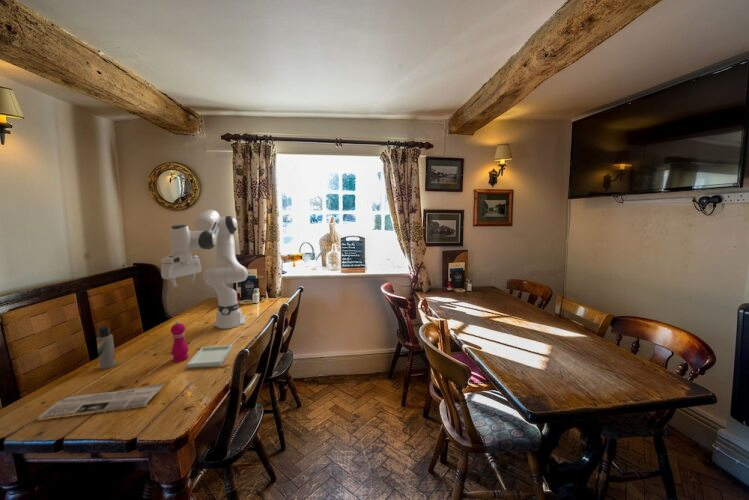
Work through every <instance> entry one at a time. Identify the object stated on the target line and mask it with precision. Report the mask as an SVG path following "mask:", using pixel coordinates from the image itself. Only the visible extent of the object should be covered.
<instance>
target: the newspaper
mask: <svg viewBox="0 0 749 500" xmlns="http://www.w3.org/2000/svg"><path fill="white" fill-rule="evenodd" d="M163 386H164V382H163V383H156V384H151V385H146V386H140V387H134V388H129V389H128V388H127V389H124V390H117V391H116V390H115V391H107V392H98V393H97V392H96V393H89V394H88V393H87V394H77V395H68V397H66V398H63V399H61V400H57V401H56V403H54V404H53V405H51V406H50V407H48V408H47V409H46V410H45V411H44V412H42V414H40V415H39V416H38V417H37V419H38V418H48V417H57V416H64V415H73V414H82V413H91V412H102V411H112V412H115V411H114V410H119V411H124V409H127V410H133V409H132V408H134V409H141V408H140V407H142V408H147V407H148V404H149V402H150V401H151V400H152V398H153V397H154V396H155V395H156V394H158V393H160V390H161V389H162V387H163Z"/></svg>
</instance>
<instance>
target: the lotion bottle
mask: <svg viewBox="0 0 749 500" xmlns="http://www.w3.org/2000/svg"><path fill="white" fill-rule="evenodd" d="M97 331H98V332H97V333H98V336H97V337H96V346H97V354H98V362H99V367H100V370H107V369H111V368H114V367H115V366H116V364H117V361H116V359H117V358H116V352H115V343H114V335H113V334H111V333H110V332H111V331H110V326H109V325H102V326H99V327H98V328H97Z"/></svg>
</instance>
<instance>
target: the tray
mask: <svg viewBox="0 0 749 500" xmlns="http://www.w3.org/2000/svg"><path fill="white" fill-rule="evenodd" d="M232 350H233V344H223V345H211V346H210V345H209V346H201V348H199V350H198V351H197V352H196V353H195V354H194V355H193V357H191V359H190V360H189V361H188V362H187V363H186V370H192V369H203V368H204V369H205V368H215V367H216V368H218V367H222V366H223V364H224V362H225V361H226V359H228V357H229V355H230V353H232Z"/></svg>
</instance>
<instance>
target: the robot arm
mask: <svg viewBox="0 0 749 500" xmlns="http://www.w3.org/2000/svg"><path fill="white" fill-rule="evenodd" d="M238 225H239V224H238V220H237V219H236V217H235V216H234V215H233V216H232V215H226V216H221V215H220V213H219V212H218V211H217V210H215V209H207V210H205V211H203V212H201V213H200V214H199V215H198V216H196V218H195V219H194V226H195V228H196V229H197V230H190V226H189V225H186V224H175V225H173V226H170V228H169V236H168V237H169V245H170V254H168V255H167V256H164V257H163V258H161V260H160V263H161V267H160V275H161V276H160V277H161V278H162V279H163V280H169V282H171V284H172V287H173V288H176V287H178V286H179V283H178V282H177V281H176V279H177V278H181V277H184V276H190V278H189V279H188V283H190V284H193V283H194V282H195V278H196V275H197V274H199V273H201V272H202V263H201V259H200V257H199V256H198V255H193V253H192V250H212V249H213V248H214V247H215V246H216V259H217V261H219V262H220V263H222V264H226V266H214V267H209V268H206V269H205V270H204V272H203V274H202V278H203V281H204V282H205V283H206V285H209V286H211V287H212V288H213V290H214V291H215V293H216V295H217V301H218V302H217V303H218V305H217V312H216V313H215V323H213V326H214V327H216V328H217V329H224V330H225V329H227V330H228V329H232V328H233V329H234V328H236V327H239V326H242V325H245V323H246V319H245V318H247V317H246V315H243V310H242V309H241V308H240V306H239V304H240V303H239V302H240V301H239V300H238V292H237V291H236V290H235V288H232V287H229V286H227V284H235V283H241V282H245V281H246V280H247V278H248V276H249V272H248V269H247V268H246V266H244V265H242V264H241V263H240V262H239V261H238V259H237V256H236V245H235V244H236V243H235V238H234V234H235V233H236V231H237V230H238Z"/></svg>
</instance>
